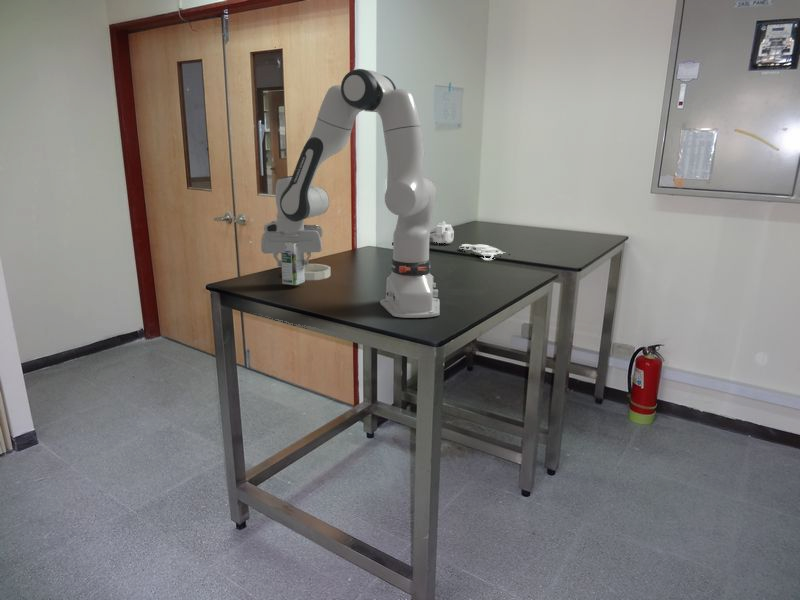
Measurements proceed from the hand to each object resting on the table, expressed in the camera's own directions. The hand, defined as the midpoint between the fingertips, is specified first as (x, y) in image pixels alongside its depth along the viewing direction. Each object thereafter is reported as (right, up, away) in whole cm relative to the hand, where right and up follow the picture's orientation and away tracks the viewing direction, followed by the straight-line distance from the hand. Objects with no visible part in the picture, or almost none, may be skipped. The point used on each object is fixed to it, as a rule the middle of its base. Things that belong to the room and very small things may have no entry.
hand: (293, 265), depth 186 cm
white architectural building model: (+77, +8, +64) cm, 100 cm away
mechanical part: (+57, +15, +86) cm, 104 cm away
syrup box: (0, -6, +2) cm, 6 cm away
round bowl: (+2, -3, +18) cm, 18 cm away
